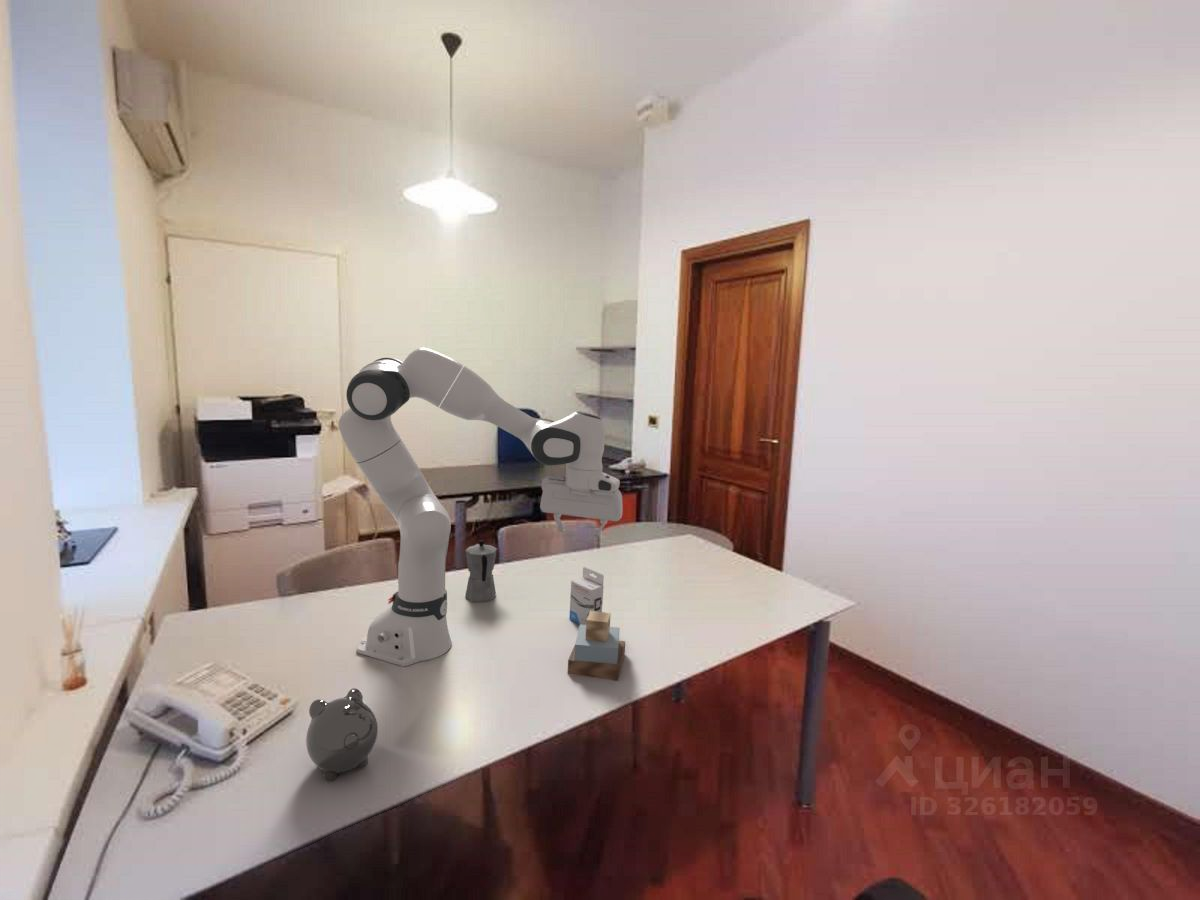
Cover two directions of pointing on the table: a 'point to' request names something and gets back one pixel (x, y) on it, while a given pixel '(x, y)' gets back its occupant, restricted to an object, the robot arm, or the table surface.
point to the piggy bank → (341, 734)
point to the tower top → (597, 647)
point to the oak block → (598, 626)
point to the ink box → (586, 596)
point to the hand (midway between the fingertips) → (579, 533)
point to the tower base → (597, 666)
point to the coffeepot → (480, 572)
